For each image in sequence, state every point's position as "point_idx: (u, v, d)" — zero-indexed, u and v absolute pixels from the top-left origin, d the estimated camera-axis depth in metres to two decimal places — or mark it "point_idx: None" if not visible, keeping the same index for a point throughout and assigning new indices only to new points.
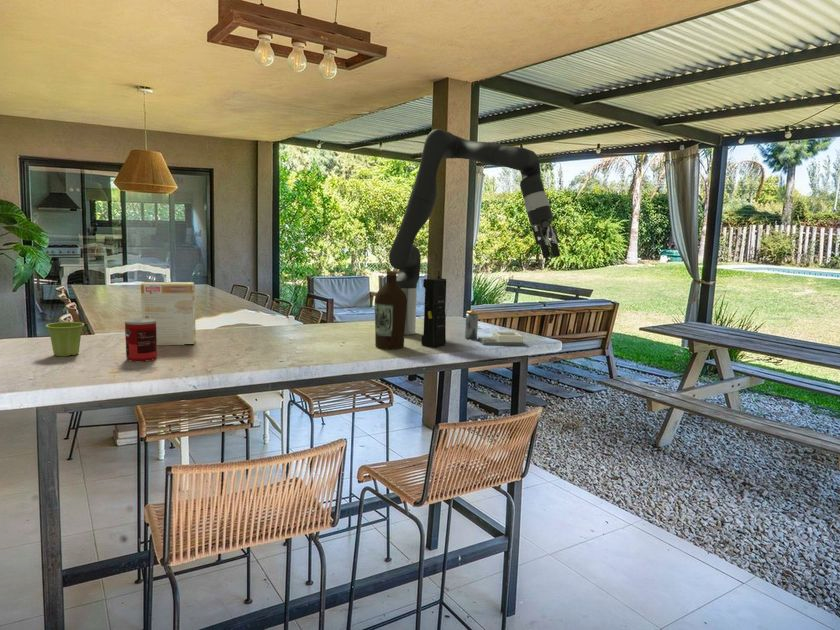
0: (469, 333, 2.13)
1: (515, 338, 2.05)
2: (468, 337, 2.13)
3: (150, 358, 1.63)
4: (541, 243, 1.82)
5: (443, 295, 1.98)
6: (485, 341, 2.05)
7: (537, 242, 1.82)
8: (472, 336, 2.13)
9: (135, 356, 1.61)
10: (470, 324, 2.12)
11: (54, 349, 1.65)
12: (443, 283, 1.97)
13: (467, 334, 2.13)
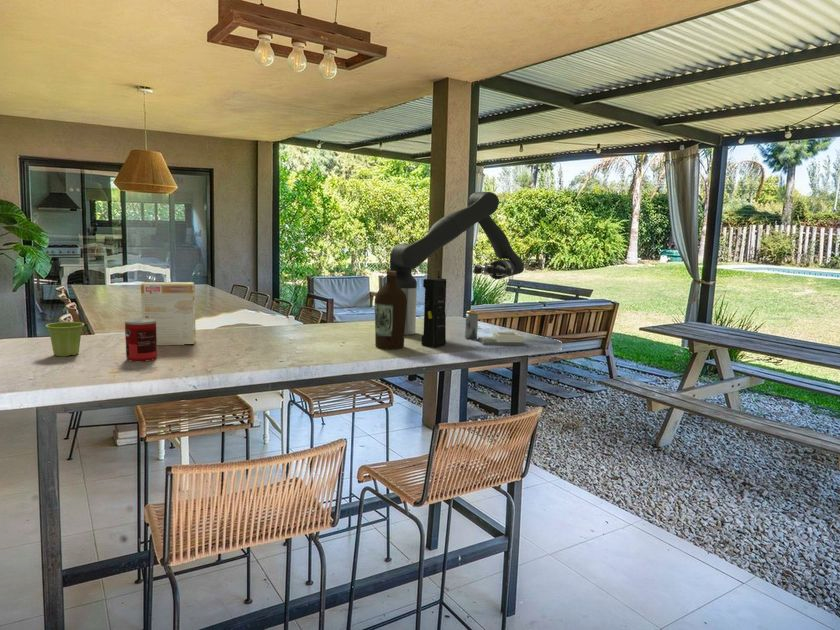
0: (469, 333, 2.13)
1: (515, 338, 2.05)
2: (468, 337, 2.13)
3: (150, 358, 1.63)
4: (508, 272, 2.22)
5: (443, 295, 1.98)
6: (485, 341, 2.05)
7: (510, 269, 2.22)
8: (472, 336, 2.13)
9: (135, 356, 1.61)
10: (470, 324, 2.12)
11: (54, 349, 1.65)
12: (443, 283, 1.97)
13: (467, 334, 2.13)
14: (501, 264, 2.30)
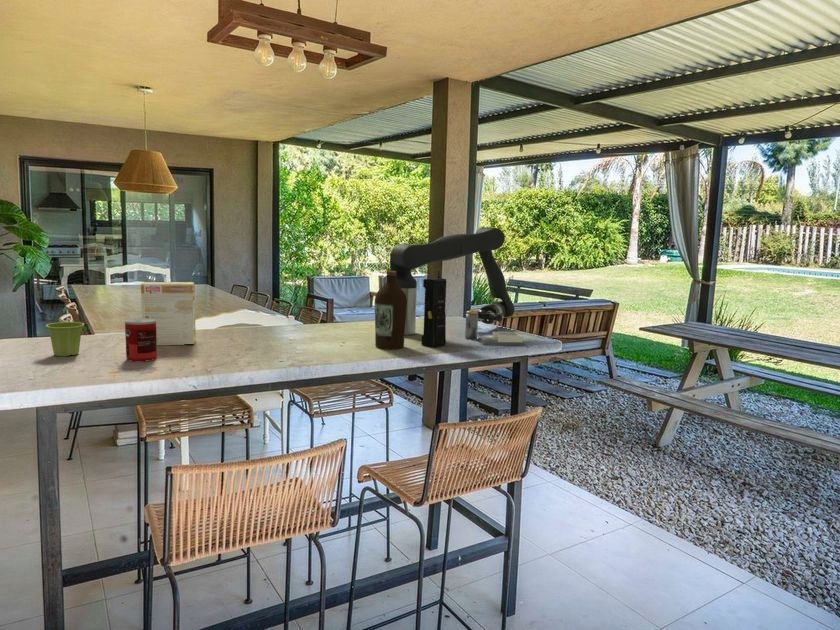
0: (469, 333, 2.13)
1: (515, 338, 2.05)
2: (468, 337, 2.13)
3: (150, 358, 1.63)
4: (498, 318, 2.24)
5: (443, 295, 1.98)
6: (485, 341, 2.05)
7: (500, 316, 2.24)
8: (472, 336, 2.13)
9: (135, 356, 1.61)
10: (470, 325, 2.12)
11: (54, 349, 1.65)
12: (443, 283, 1.97)
13: (467, 334, 2.13)
14: (492, 309, 2.32)
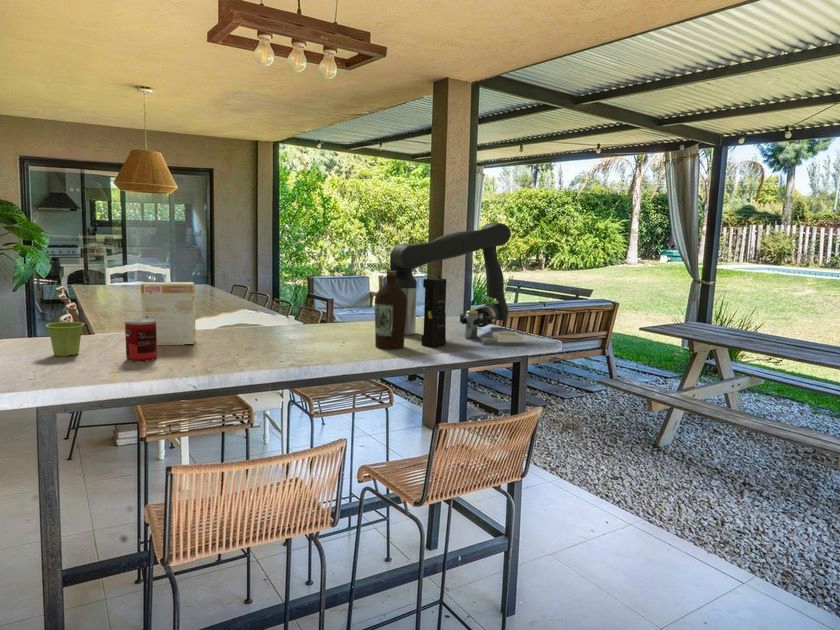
0: (469, 333, 2.13)
1: (515, 338, 2.05)
2: (468, 337, 2.13)
3: (150, 358, 1.63)
4: (485, 322, 2.14)
5: (443, 295, 1.98)
6: (485, 341, 2.05)
7: (487, 319, 2.14)
8: (472, 336, 2.13)
9: (135, 356, 1.61)
10: (470, 324, 2.12)
11: (54, 349, 1.65)
12: (443, 283, 1.97)
13: (467, 334, 2.13)
14: (484, 312, 2.22)
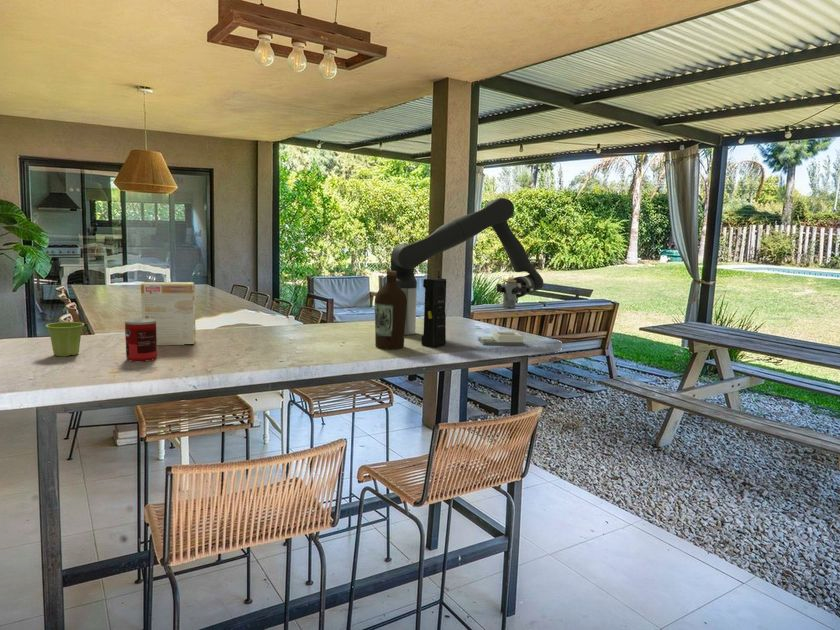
0: (507, 302, 2.05)
1: (515, 338, 2.05)
2: (506, 306, 2.06)
3: (150, 358, 1.63)
4: (524, 290, 2.06)
5: (443, 295, 1.98)
6: (485, 341, 2.05)
7: (526, 288, 2.06)
8: (511, 305, 2.05)
9: (135, 356, 1.61)
10: (508, 293, 2.05)
11: (54, 349, 1.65)
12: (443, 283, 1.97)
13: (505, 303, 2.06)
14: (521, 281, 2.14)
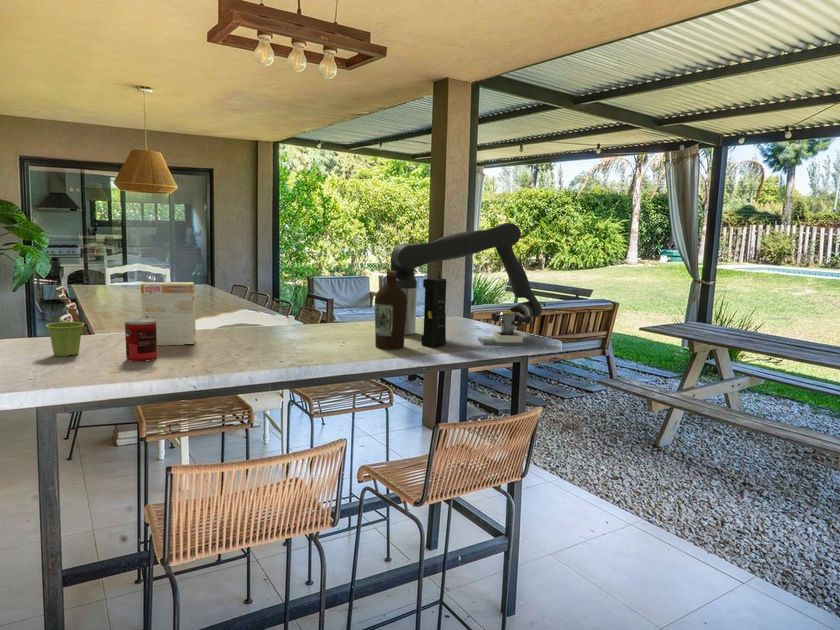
0: (505, 334, 2.07)
1: (515, 338, 2.05)
2: None
3: (150, 358, 1.63)
4: (527, 320, 2.08)
5: (443, 295, 1.98)
6: (485, 341, 2.05)
7: (530, 318, 2.08)
8: None
9: (135, 356, 1.61)
10: (507, 325, 2.06)
11: (54, 349, 1.65)
12: (443, 283, 1.97)
13: None
14: (520, 310, 2.16)
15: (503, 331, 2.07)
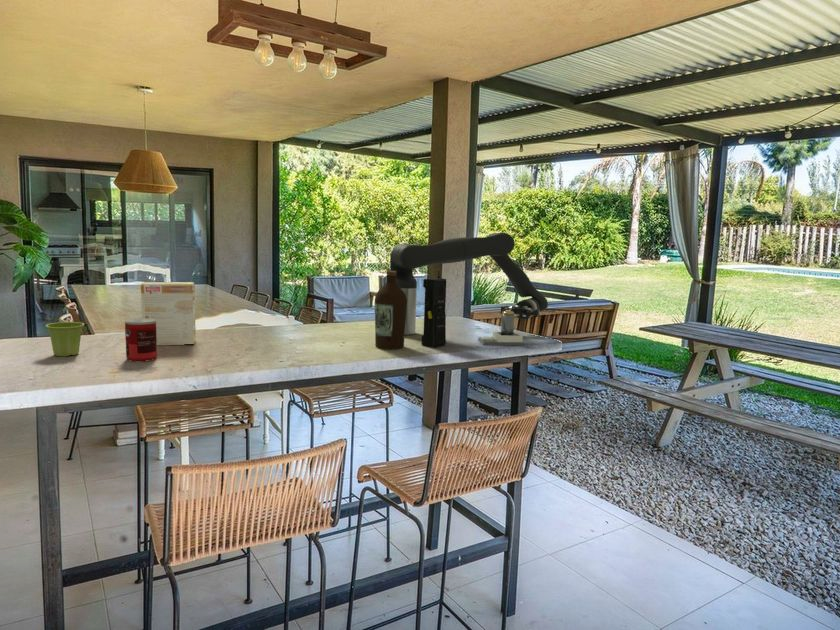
0: (505, 334, 2.07)
1: (515, 338, 2.05)
2: None
3: (150, 358, 1.63)
4: (535, 314, 2.20)
5: (443, 295, 1.98)
6: (485, 341, 2.05)
7: (537, 311, 2.20)
8: None
9: (135, 356, 1.61)
10: (506, 325, 2.06)
11: (54, 349, 1.65)
12: (443, 283, 1.97)
13: None
14: (527, 304, 2.28)
15: (503, 331, 2.07)
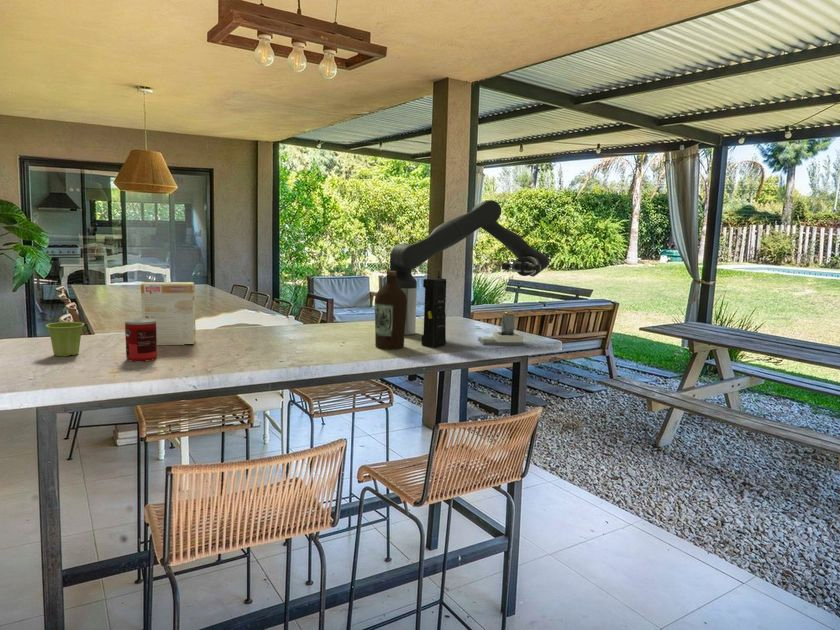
0: (505, 334, 2.07)
1: (515, 338, 2.05)
2: None
3: (150, 358, 1.63)
4: (537, 268, 2.19)
5: (443, 295, 1.98)
6: (485, 341, 2.05)
7: (539, 266, 2.20)
8: None
9: (135, 356, 1.61)
10: (506, 325, 2.06)
11: (54, 349, 1.65)
12: (443, 283, 1.97)
13: None
14: (529, 261, 2.27)
15: (503, 331, 2.07)
